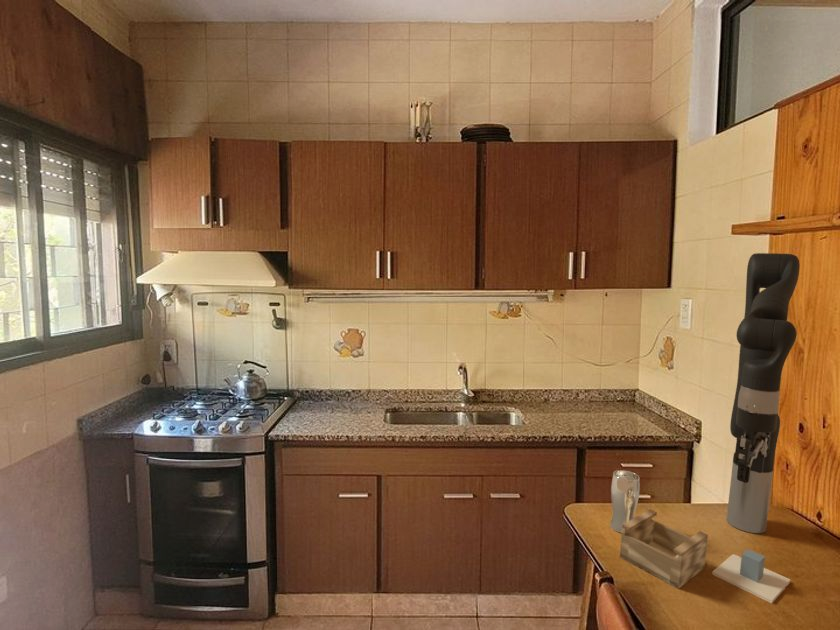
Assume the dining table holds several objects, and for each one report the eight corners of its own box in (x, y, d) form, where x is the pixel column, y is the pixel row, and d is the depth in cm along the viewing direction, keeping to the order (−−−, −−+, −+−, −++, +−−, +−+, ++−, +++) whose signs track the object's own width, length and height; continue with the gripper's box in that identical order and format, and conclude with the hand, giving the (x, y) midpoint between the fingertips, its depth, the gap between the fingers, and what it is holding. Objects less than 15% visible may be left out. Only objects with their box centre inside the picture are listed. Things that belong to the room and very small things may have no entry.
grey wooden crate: (647, 539, 126) (649, 509, 125) (704, 567, 115) (707, 534, 114) (619, 557, 118) (622, 524, 117) (678, 588, 107) (681, 553, 106)
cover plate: (732, 558, 120) (735, 534, 119) (789, 584, 111) (793, 559, 110) (711, 576, 113) (714, 551, 112) (771, 605, 104) (774, 578, 103)
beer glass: (640, 528, 131) (644, 475, 130) (629, 538, 127) (634, 483, 125) (614, 518, 136) (619, 467, 135) (603, 527, 132) (607, 474, 130)
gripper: (750, 398, 116) (743, 463, 118) (726, 408, 107) (718, 478, 109) (788, 406, 110) (779, 474, 112) (766, 417, 101) (757, 491, 103)
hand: (749, 476), depth 110 cm, fingers open, 8 cm apart
